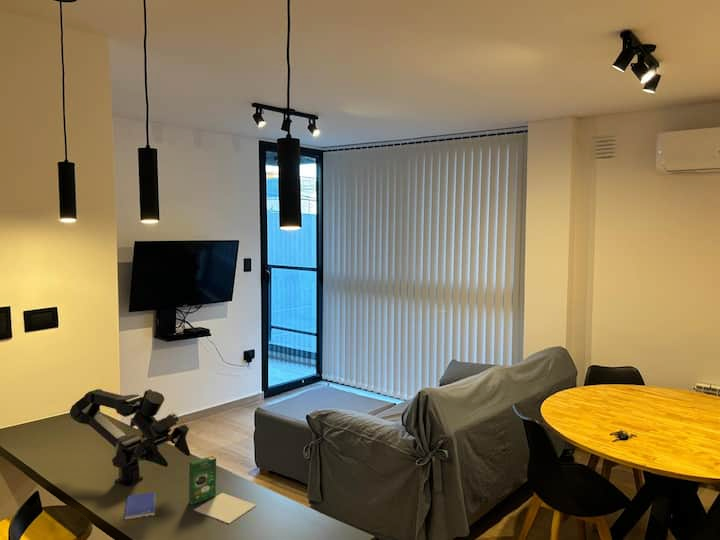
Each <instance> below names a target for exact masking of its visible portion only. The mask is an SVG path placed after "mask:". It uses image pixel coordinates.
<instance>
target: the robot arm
mask: <svg viewBox="0 0 720 540" xmlns="http://www.w3.org/2000/svg"><path fill="white" fill-rule="evenodd" d="M164 402H165V397H164V395H163V393H160V392H159V391H156V390H155V391H153V390H152V389H150V388H149V389H147V390H144V393H143V396H142V395H140V394H126V395H121V394H118V393H113V392H109V391H105V390H103V389H101V388H97V389H94V390H90V391H87V392H86V393H85V394H84V396H82V398H80V399H79V400H78V401H76V402H75V403H74V404H73V405H72V406H71V408H70V410H69V415H70V417H71V418H72V419H73V421H75V422H77V423H78V424H82V425H88V426H89V427H91V428H92V429H93V430H94V431H96V432H97V433H98V435H100V436H102V438H103V439H105V440H106V441H107V442H109V444H110V445H112V446H113V447H114V450H115V456H114V457H113V458H112V459H111V461H112V465H113V467H116V468H118V478H116V479H114V482H115V483H116V484H120V485H123V486H125V487H129V486H131V485H133V484H135V483H137V482H139V481H142V480H143V479H144V476H142V475H140V463H139V462H140V461H143V462H144V461H147V462H151V463H154V464H156V465H159V466H162V467H165V468H167V467H169V463H168V461H167V460H166V458H165V457H164V456H163V454H161V452H160V451H159V448H158V447H160V446H161V445H164V444H167V443H168V442H170V443H172V444H173V447H175V448H176V449H177V450H179V451H180V452H181V453H182V454H184V455H185V456H187V457H189V456H191V451H190V449H189V446H188V443H187V435H188V433H189V431H190V428H189V427H188V426H187V425H186V424H181V425H179V426H177V427H174V426H176V425H177V422H179V417H178V415H177V414H176V413H175V412H172V413H169V414H168V415H167V416H166V417H163V418H161V419H157V418H156V417H155V416H156V415H157V414H158V413H159V411H160V409H161V407H162V405H163V403H164ZM102 406H103V407H106V408H109V409H114V410H115V411H116V413H117V414H118V415H120V416H122V417H124V418H126V417H129V416H132V415H134V416H133V417H131V418H130V423H129V426H130V428H134V427H136V428H137V429H138V430H139V431H140V432H141V434H142V435H141V437H139V435H138V434H137V433H134V432H133V433H130V434H128V435H127V434H125V433H124V432H123V431H122V430H121V429H120V428H118V427H117V426H116V425H115V424H114V423H112V422H111V421H110V420H109V419H108V418H107V417H106V416H104V415H103V414H102V413H101V407H102ZM172 427H174V429H173V431H172ZM171 431H172V433H170V432H171ZM169 433H170V434H169ZM143 439H144V440H143Z"/></svg>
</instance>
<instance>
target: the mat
mask: <svg viewBox="0 0 720 540" xmlns="http://www.w3.org/2000/svg"><path fill="white" fill-rule="evenodd" d="M256 506H257V504H255V503H252V502H249V501H246V500H243V499H241V498H238V497H235V496H232V495H229V494H226V493H225V492H221V493H220V494H218V495H216V497H215V498H212V499H209V500H207V502H206V501H205V503H203V504H201V505H200V506H197V507H196V508H194V509H193V510H194V511H195V512H198V513H199V514H202V515H204V516H208V517H209V518H212V519H215V520H217V519H218V520H217V521H219V522H222V521H223V523H225V524H227V523H228V524H227V525H230V524H231V523H233V522H234V521H236V520H237V519H239V518H240V517H242V516H243V515H245V514H247V513H248V512H249V511H251V510H253V509H254V508H255V507H256Z"/></svg>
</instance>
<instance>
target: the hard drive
mask: <svg viewBox="0 0 720 540" xmlns="http://www.w3.org/2000/svg"><path fill="white" fill-rule="evenodd" d="M155 508H156V492H148V493H146V492H145V493H141V494H140V493H139V494H132V495H128V496H127V498H126V505H125V513H124V520H130V519H136V518H137V517H138V518H143V517H142V516H145V517H150V516H149V515H151V516H155V514H156V513H155V511H156V509H155ZM138 518H137V519H138Z"/></svg>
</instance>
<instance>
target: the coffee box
mask: <svg viewBox="0 0 720 540" xmlns="http://www.w3.org/2000/svg"><path fill="white" fill-rule="evenodd" d="M188 473H189V474H188V475H189V476H188V477H189V478H188V479H189V481H188V483H189V485H188V501H189V503H190V505H195V504H199V503H202V502H206V501H210V500H211V499H213V498H215V497H216V496H217V494H216V493H217V491H216V489H217V488H216V487H217V485H216V484H217V458H216V457H214V456H213V455H211V456H207V457H203V458H200V459H195V460H192V461H189V472H188Z"/></svg>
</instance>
